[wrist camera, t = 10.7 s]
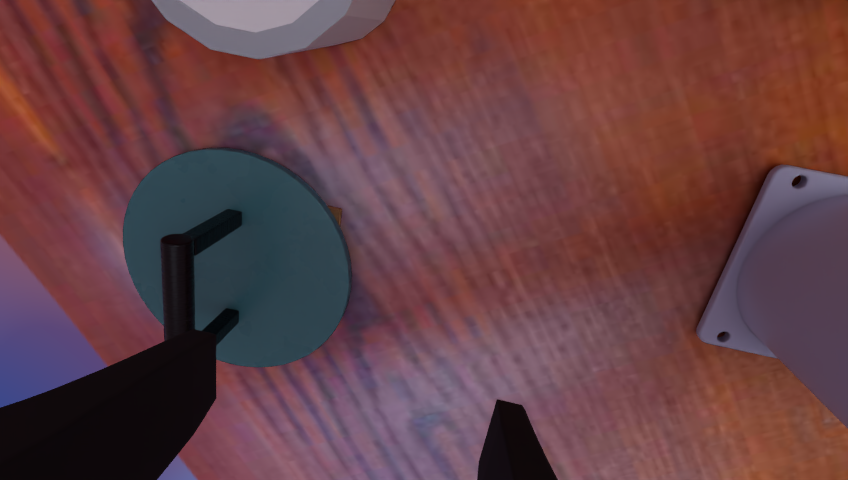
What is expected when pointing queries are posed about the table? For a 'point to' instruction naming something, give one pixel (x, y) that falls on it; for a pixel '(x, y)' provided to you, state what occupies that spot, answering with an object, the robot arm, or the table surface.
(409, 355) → the table surface
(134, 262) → the tin lid
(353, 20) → the pale grey cylinder
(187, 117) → the table surface
